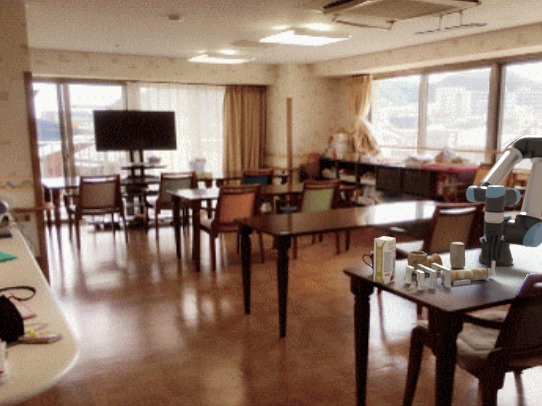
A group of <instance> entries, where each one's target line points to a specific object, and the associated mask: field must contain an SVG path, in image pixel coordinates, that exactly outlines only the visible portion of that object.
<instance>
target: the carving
mask: <svg viewBox="0 0 542 406" xmlns="http://www.w3.org/2000/svg"><path fill="white" fill-rule="evenodd" d="M449 247H450V248H449V263H450V266H451V268H453V269H462V268H465V266H466V249H465V243H464V242H462V241H452V242H451V243H450V246H449Z"/></svg>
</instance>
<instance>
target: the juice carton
mask: <svg viewBox="0 0 542 406" xmlns="http://www.w3.org/2000/svg"><path fill="white" fill-rule="evenodd" d="M396 240H397V239H396V237H391V236H385V235H383V236H380V237H377V238H376V237H375V238H374V242H373V243H374V244H373V251H374V274H373V282H374V283H378V284H382V285H388V284H391V283H393V282H395V279H396V256H397V254H396V253H397V252H396V251H397V245H396V244H397V241H396Z"/></svg>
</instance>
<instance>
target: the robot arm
mask: <svg viewBox="0 0 542 406" xmlns="http://www.w3.org/2000/svg"><path fill="white" fill-rule="evenodd" d="M502 150H503V151H502V155H500V157H499V159H498V160H497V161H496V162H495V163H494V165H492V167H491V168H490V169H489V170H488V172H487V173H486V174H485V175H484V176H483V178H482V179H481V180H480V181H479V182H478V184H477V185H470V186H468V188H467V189H466V192H465V196H466V200H467V201H468V202H470V203H472V202H473V203H477V204H485V206H484V207H485V208H484V223H483V224H484V225H483V236H482V237H479V238H478V241H479V244H480V250H481V251H480V254H479V255H478V262H479V263H481V264H485V265H486V269H487V271H488V276H493V277H495V276H496V275H495V274H496V268H497V267H498V266H499V267H508V266H512V265H513V264H514V259H513V255H512V252H511V248H510V246H511V245H517V246H521V247H525V248H528V247H529V248H537V247H539V246H541V244H542V134H525V135H523V136H520V137H517V138H516V139H514V140H513V141H512V142H510V143H509V144H508V145H507V146H506V147H505V148H504V149H502ZM523 160H529V161H530V163H532V165H531V169H530V170H531V171H530V175H529V178H528V182H527V185H526V186H527V187H526V189H525V194H524V196H523V202H522V204H521V205H522V206H521V209H520V212H518V213H517V214H516V215H515V218H514V219H513V218H512V216H511V215H509V214H505V207H510V206H514V205H517V204H518V203H519V202H520V201H521V197H522V195H521V193H520V190H518V189H517V188H514V187H512V188H511V187H507V188H506V187H505V186H504V185H500V184H502V182H503V181H504V180H505V178H506V177H507V176H508V175H509V174H510V173H511V171H512V170H513V169H514V167H515V166H516V165H517V164H520V163H521V162H522V161H523ZM510 244H511V245H510Z"/></svg>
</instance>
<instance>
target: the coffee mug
mask: <svg viewBox="0 0 542 406" xmlns="http://www.w3.org/2000/svg"><path fill="white" fill-rule="evenodd" d="M366 256H367V257H369V258H370V260H371V264H369V263H368V262H367V261H365V259H364V258H365V257H366ZM362 261H363V262H364V264H366V265H367V266H368V267H370V268H371V269H372V275H374V250H372V251H370V254H369V253H368V254H363V255H362Z"/></svg>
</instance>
